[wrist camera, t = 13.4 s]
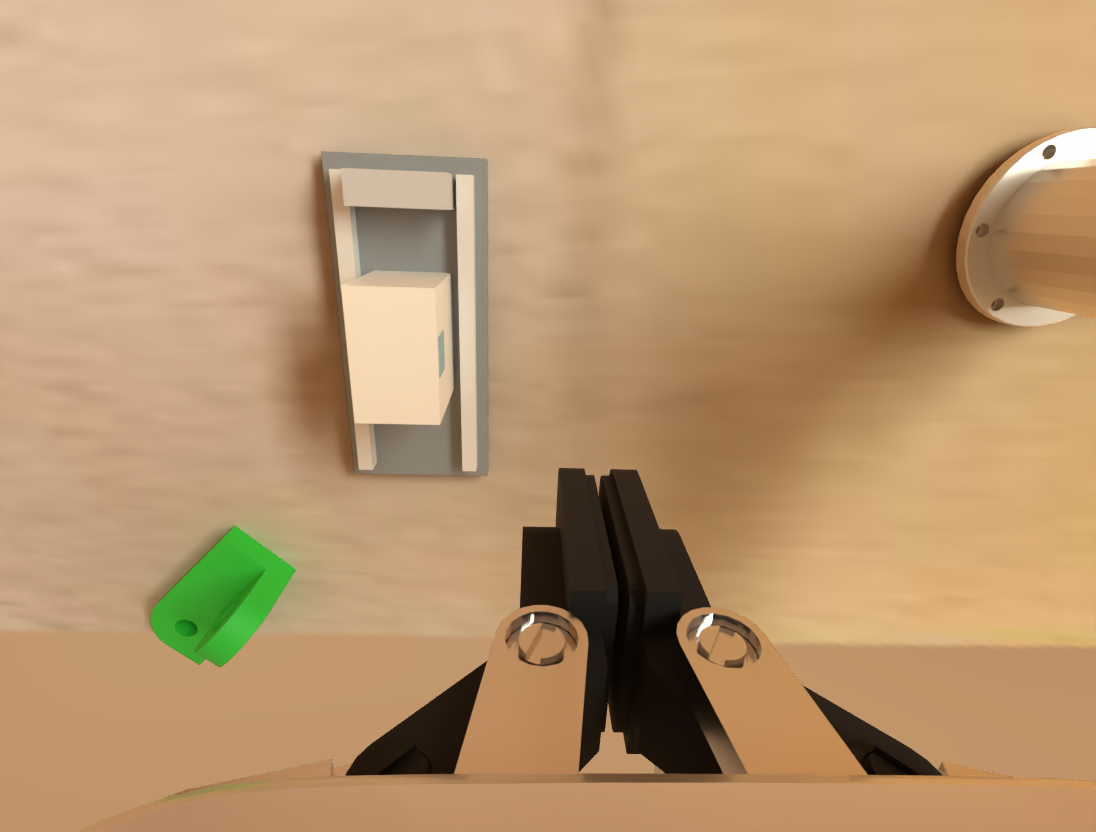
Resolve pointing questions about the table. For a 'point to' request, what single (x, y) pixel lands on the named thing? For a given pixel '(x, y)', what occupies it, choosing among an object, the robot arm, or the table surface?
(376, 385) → the block
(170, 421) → the table surface
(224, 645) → the mechanical part
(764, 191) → the table surface
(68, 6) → the table surface
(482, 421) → the rail plate
